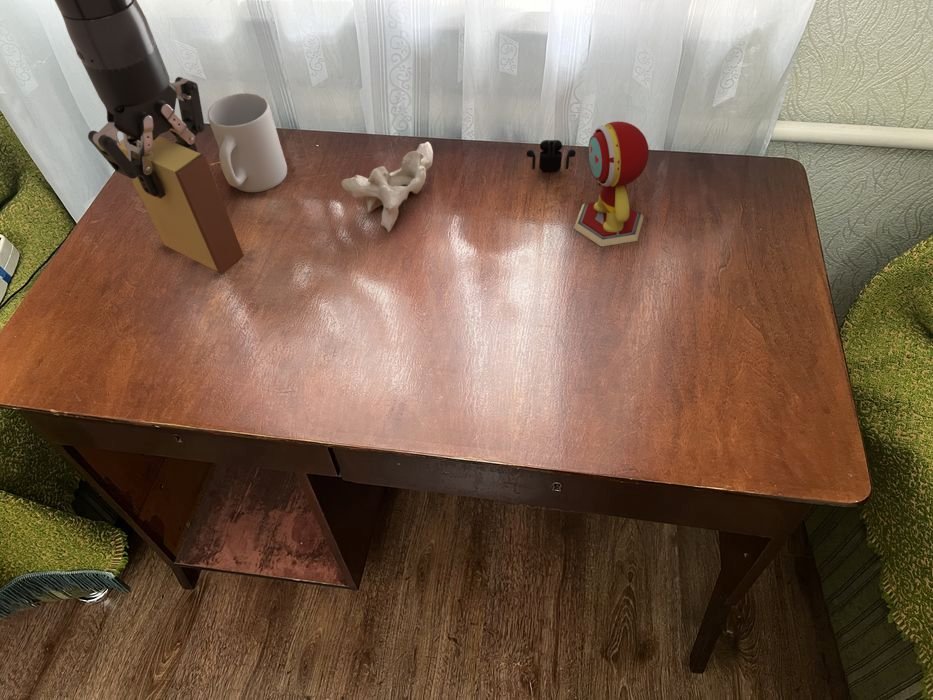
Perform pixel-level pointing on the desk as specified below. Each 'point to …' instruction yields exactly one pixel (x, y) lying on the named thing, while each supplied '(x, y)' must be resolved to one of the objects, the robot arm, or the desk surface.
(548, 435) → the desk surface
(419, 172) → the decorative object
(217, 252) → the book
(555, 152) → the wireless earbuds
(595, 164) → the figurine
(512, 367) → the desk surface
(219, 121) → the mug
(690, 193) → the desk surface
